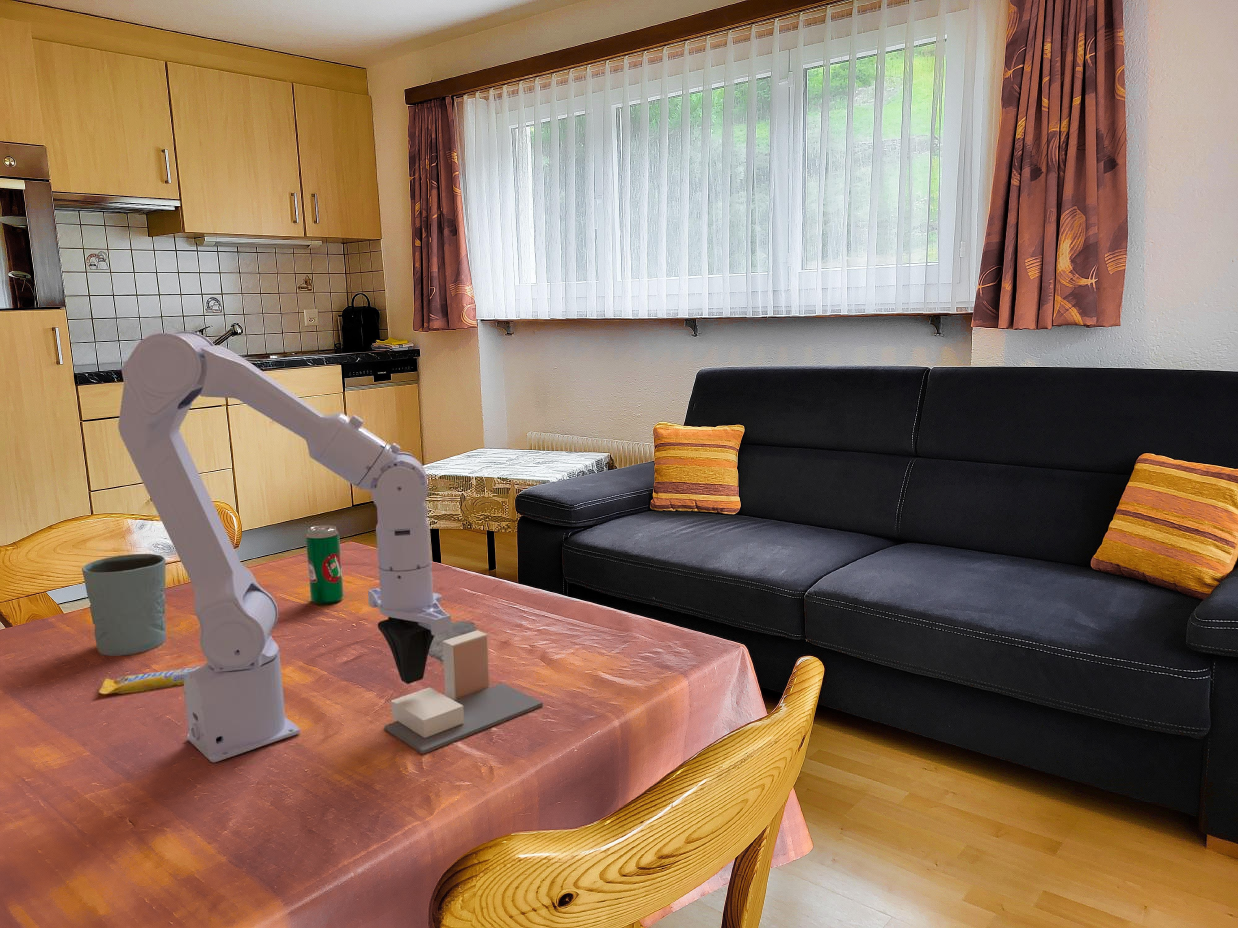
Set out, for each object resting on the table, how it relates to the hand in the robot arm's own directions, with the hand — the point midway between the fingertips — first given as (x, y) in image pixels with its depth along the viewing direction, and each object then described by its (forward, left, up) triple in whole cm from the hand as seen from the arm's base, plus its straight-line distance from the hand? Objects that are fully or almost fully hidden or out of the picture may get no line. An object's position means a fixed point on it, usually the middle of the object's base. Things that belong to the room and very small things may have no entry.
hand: (412, 679), depth 100 cm
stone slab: (+15, +18, -5) cm, 24 cm away
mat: (+4, -4, -4) cm, 7 cm away
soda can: (+12, +47, -5) cm, 49 cm away
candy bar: (-16, +31, -5) cm, 35 cm away
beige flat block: (0, +1, -3) cm, 3 cm away
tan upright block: (+8, +1, -4) cm, 9 cm away
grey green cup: (-16, +49, -5) cm, 52 cm away
